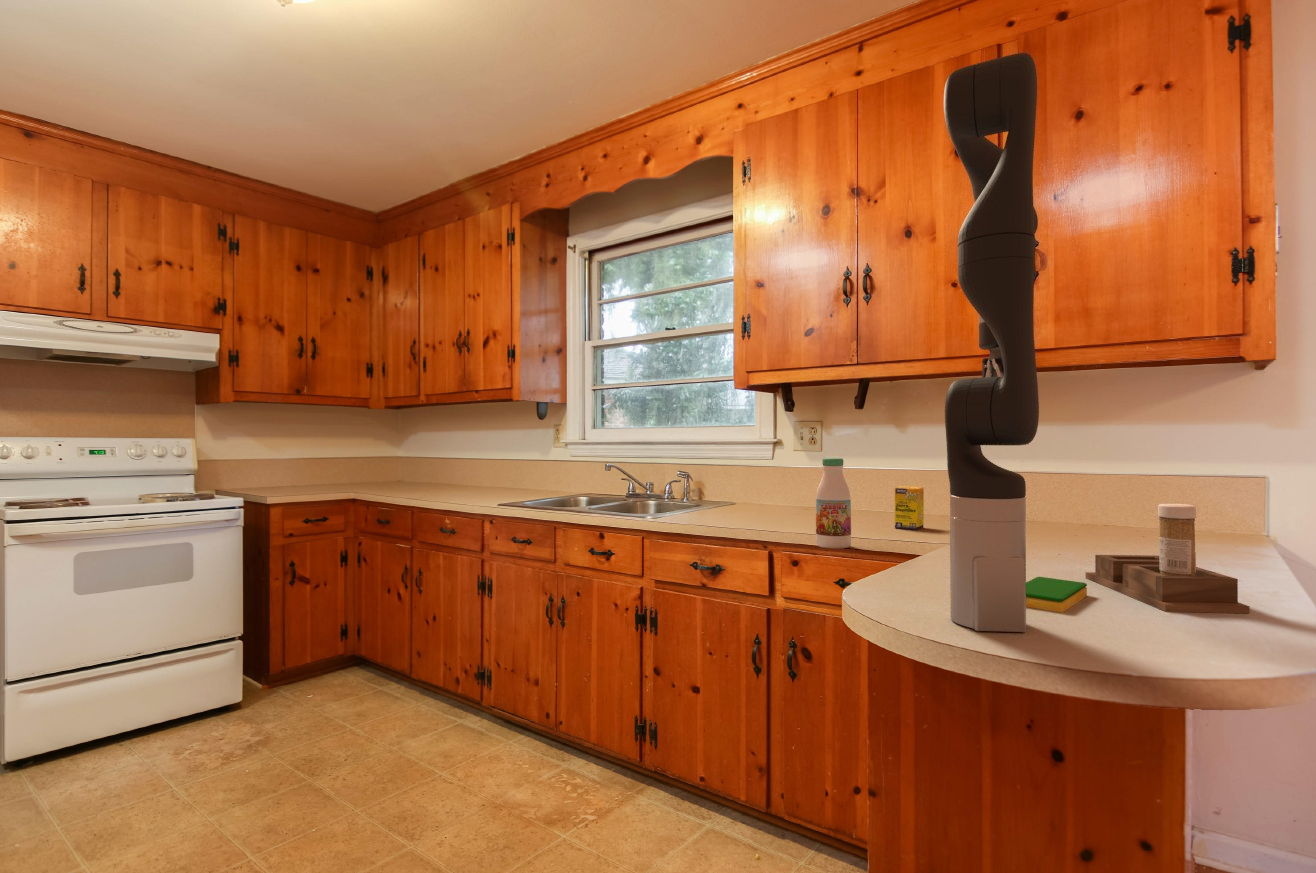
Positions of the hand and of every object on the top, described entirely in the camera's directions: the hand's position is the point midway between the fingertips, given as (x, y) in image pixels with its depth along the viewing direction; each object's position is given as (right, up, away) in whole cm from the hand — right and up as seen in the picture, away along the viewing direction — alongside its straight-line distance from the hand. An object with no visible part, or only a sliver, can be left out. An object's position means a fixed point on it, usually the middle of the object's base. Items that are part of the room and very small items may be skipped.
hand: (1003, 413), depth 117 cm
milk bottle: (-20, -29, +35) cm, 50 cm away
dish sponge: (0, -30, -13) cm, 32 cm away
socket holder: (+19, -29, -11) cm, 36 cm away
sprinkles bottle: (+19, -28, -15) cm, 37 cm away
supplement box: (+7, -29, +62) cm, 69 cm away
